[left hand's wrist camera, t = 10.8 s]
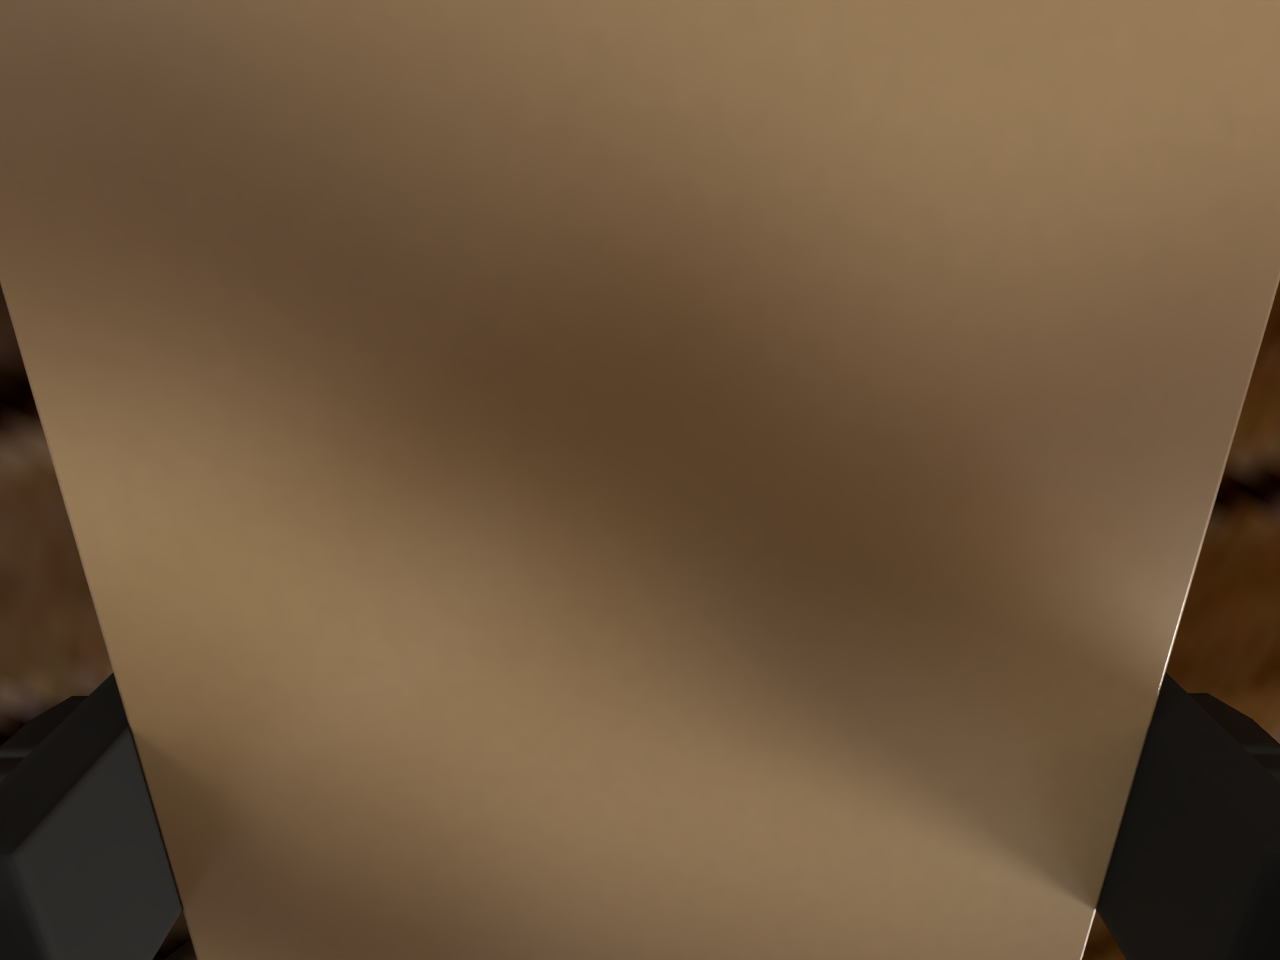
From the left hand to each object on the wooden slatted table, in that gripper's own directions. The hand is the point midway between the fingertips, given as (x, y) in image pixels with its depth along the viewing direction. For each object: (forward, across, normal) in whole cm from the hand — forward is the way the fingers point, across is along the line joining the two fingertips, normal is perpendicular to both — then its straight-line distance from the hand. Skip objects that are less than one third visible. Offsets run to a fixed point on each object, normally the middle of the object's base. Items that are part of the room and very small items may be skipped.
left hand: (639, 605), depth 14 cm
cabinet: (+6, 0, -6) cm, 8 cm away
